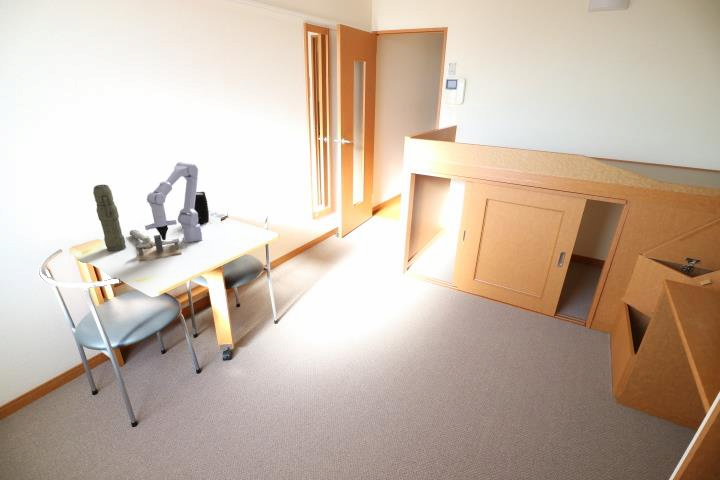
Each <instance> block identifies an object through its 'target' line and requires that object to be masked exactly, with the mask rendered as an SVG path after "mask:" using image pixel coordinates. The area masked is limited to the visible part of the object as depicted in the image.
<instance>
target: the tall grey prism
mask: <svg viewBox="0 0 720 480" xmlns="http://www.w3.org/2000/svg"><path fill="white" fill-rule="evenodd" d="M153 238H154V242H155V245H156V246H155V248H156V250H157V253H159V252H164V251H163V245H162V241H163V240H162V237H161V235H160V234H155V235H153Z"/></svg>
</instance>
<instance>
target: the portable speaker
mask: <svg viewBox="0 0 720 480" xmlns="http://www.w3.org/2000/svg"><path fill="white" fill-rule="evenodd" d="M194 210H195V211H196V212H197V213H198V223H197V224H200V223H203V224H207V223H209V222H210V214H209V205H208V199H207V196H206V192H205V191H196V198H195V207H194Z"/></svg>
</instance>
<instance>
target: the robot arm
mask: <svg viewBox="0 0 720 480" xmlns="http://www.w3.org/2000/svg"><path fill="white" fill-rule="evenodd" d="M198 174H199V168H198V166H197V165H196V164H195V163H188V162H187V163H186V162H181V161H179V162H177V163H176V165H174V170H173V171H172V173H171V174H170V175H169V176H168V178H167V179H166V180H165V181H162V182H160V183H159V184H158V186H157V187H156V188H155V189H154V190H153V191H152V192H149V193H148V194H147V195H146V202H147V203H148V204H149V206H150V208H151V213H152V217H153V223H149V224H147V225H144V229H145V230H146V231H149V230H153V229H156V231H157V232H158V234H159V235H160V236H161V241H167V239H166V238H167V233H168V230H169V227H168V226H173V225H174V226H176V225H177V222H178V223H179V224H180V226H182V231H183V237H182V239H183V242H184V243H185V244H186V243H192V242H199V241H200V242H201V241H203V234H202V228H201V224H200V223H198V213H197V212H196V211H195V210H194V207H195V198H196V192H197V189H198ZM181 177H183V178H184V179H185V181H186V183H185V193H184V204H183V208H182V209H181V210H179V214H178V217H177V220H176V219H174V220H167V215H166V211H165V205H164V204H165V203H166V198H167V196H168V194H169V193H171V191H172V190H173V185H175V183H176V182H177V181H178V180H179V179H180V178H181Z"/></svg>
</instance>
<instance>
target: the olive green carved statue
mask: <svg viewBox="0 0 720 480" xmlns="http://www.w3.org/2000/svg"><path fill="white" fill-rule="evenodd" d="M93 197H94V200H95V203H96V214H97V217H98V220H99V221H100V224H101V228H102V232H103V235H104V239H103V241H104V244H105V247H106V250H107V252H109V253H111V252H112V253H115V252H116V253H117V252H121V251H124V250H126V248H127V246H126V239H125V237H124V235H123V232H122V229H121V228H122V227H121V225H120V220H119V218H120V216H119V211H118V207H117V206H116V204H115V201H114V197H113V193H112V190H111V188H110V187H109V185H108V184H98V185H94V186H93Z"/></svg>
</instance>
